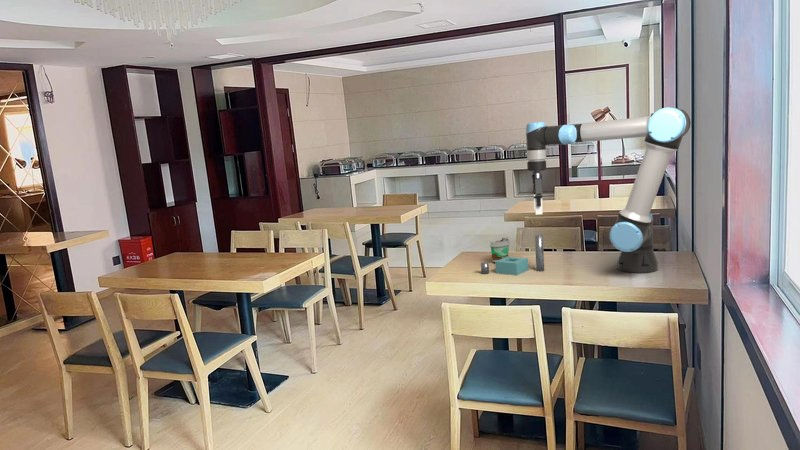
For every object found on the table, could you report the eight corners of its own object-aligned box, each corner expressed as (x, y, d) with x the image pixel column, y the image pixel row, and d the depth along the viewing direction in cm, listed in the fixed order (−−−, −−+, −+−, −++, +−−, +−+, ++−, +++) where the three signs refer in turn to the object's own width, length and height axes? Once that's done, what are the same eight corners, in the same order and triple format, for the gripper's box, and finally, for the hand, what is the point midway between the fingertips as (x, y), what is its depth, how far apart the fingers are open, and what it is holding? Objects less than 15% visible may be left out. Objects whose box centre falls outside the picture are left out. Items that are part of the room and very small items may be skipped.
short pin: (490, 272, 237) (489, 262, 237) (486, 274, 235) (485, 264, 234) (484, 272, 239) (483, 261, 239) (480, 273, 237) (479, 263, 236)
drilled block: (528, 269, 237) (528, 258, 236) (516, 275, 230) (516, 263, 229) (507, 267, 243) (507, 256, 243) (495, 273, 236) (495, 261, 235)
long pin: (545, 270, 235) (544, 234, 232) (542, 271, 232) (540, 236, 230) (538, 269, 237) (537, 234, 234) (535, 271, 234) (533, 235, 232)
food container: (503, 265, 249) (502, 243, 248) (491, 264, 253) (489, 242, 252) (515, 259, 259) (514, 238, 258) (503, 258, 263) (502, 237, 261)
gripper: (526, 159, 240) (527, 208, 244) (528, 162, 216) (530, 216, 219) (544, 158, 239) (545, 207, 242) (548, 161, 215) (549, 216, 218)
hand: (538, 212), depth 231 cm, fingers open, 13 cm apart
